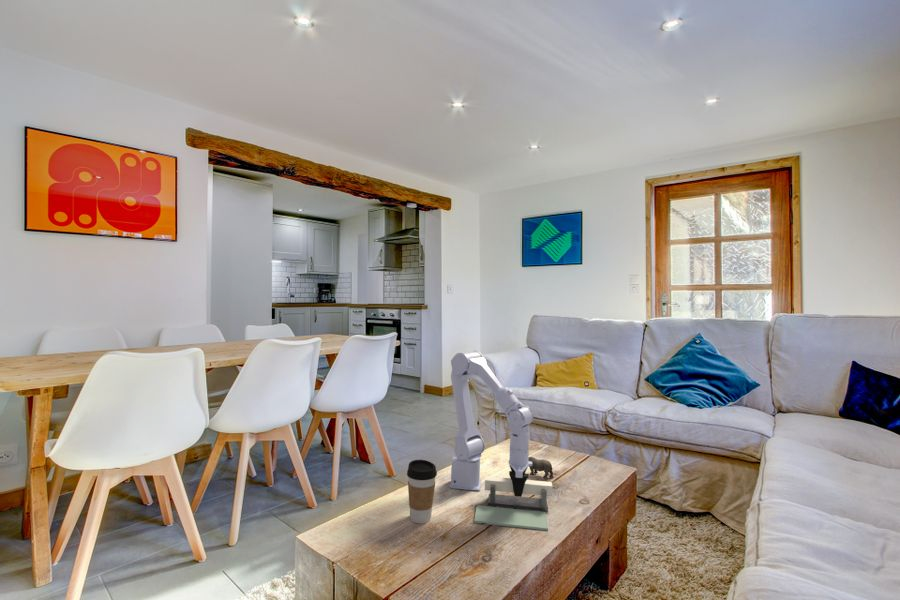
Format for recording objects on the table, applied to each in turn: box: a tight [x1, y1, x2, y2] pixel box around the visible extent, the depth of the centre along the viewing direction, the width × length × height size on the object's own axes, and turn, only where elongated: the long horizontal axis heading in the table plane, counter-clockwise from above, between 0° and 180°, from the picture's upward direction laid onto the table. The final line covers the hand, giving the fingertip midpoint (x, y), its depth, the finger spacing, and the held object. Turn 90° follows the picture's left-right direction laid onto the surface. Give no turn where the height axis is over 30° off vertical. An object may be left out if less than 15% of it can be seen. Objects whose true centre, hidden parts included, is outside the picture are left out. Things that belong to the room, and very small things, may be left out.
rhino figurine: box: [528, 456, 554, 480], centre depth 153 cm, size 4×14×6 cm, turn 60°
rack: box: [487, 485, 549, 513], centre depth 130 cm, size 18×7×6 cm, turn 82°
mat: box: [473, 504, 549, 532], centre depth 122 cm, size 20×9×1 cm, turn 82°
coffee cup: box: [406, 459, 438, 524], centre depth 120 cm, size 8×8×15 cm
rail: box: [484, 475, 553, 497], centre depth 130 cm, size 20×3×3 cm, turn 82°
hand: (517, 491), depth 130 cm, fingers open, 5 cm apart
